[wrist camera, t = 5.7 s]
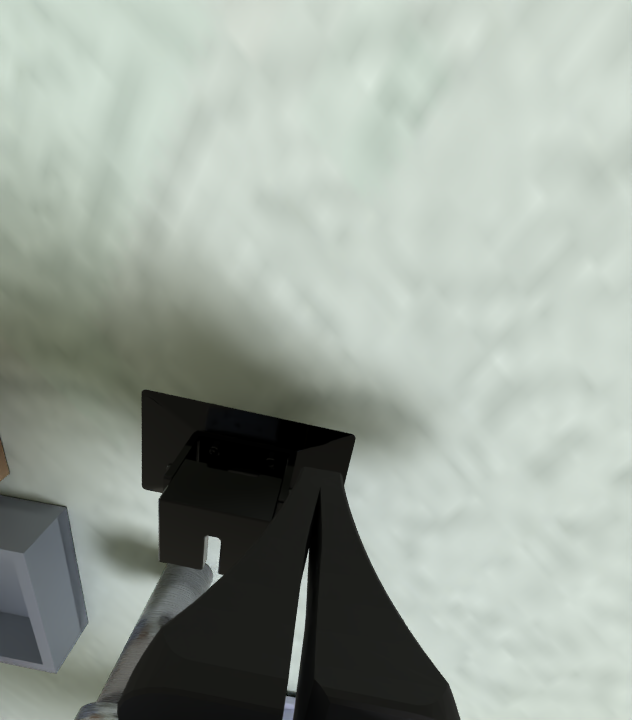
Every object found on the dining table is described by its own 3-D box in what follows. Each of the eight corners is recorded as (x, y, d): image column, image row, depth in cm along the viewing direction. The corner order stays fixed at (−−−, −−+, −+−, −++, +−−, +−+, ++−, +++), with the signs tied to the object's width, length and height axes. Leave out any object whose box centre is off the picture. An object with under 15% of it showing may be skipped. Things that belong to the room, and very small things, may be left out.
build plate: (115, 484, 18) (39, 574, 14) (106, 345, 15) (5, 405, 11) (370, 539, 18) (374, 649, 13) (414, 409, 15) (437, 496, 10)
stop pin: (219, 598, 19) (155, 787, 13) (159, 587, 20) (68, 769, 13) (221, 556, 18) (151, 745, 12) (157, 544, 18) (55, 724, 12)
